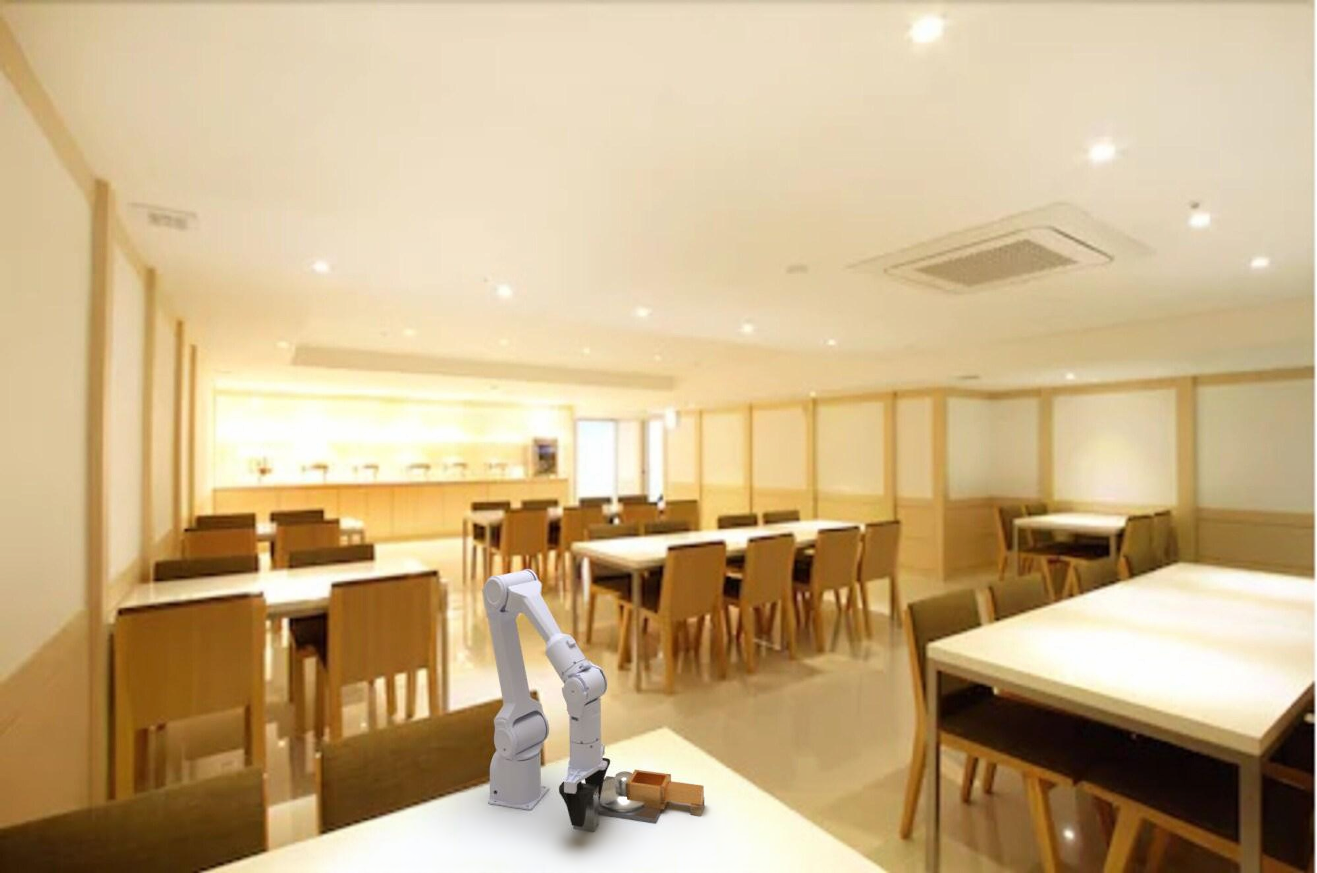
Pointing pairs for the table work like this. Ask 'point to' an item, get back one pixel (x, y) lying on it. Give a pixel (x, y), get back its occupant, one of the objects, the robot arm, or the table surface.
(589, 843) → the table surface
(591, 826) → the brushed metal block
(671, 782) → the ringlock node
